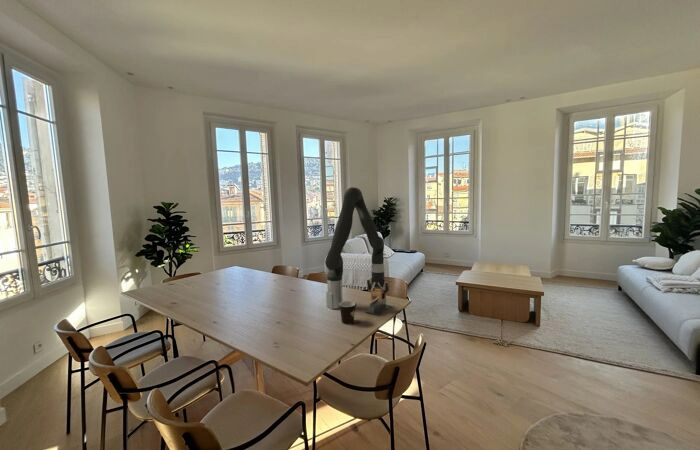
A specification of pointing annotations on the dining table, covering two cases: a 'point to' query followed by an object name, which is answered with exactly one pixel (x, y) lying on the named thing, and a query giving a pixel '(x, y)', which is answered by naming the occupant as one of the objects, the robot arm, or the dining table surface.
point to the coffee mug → (347, 312)
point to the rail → (378, 307)
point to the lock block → (377, 295)
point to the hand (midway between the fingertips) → (378, 297)
